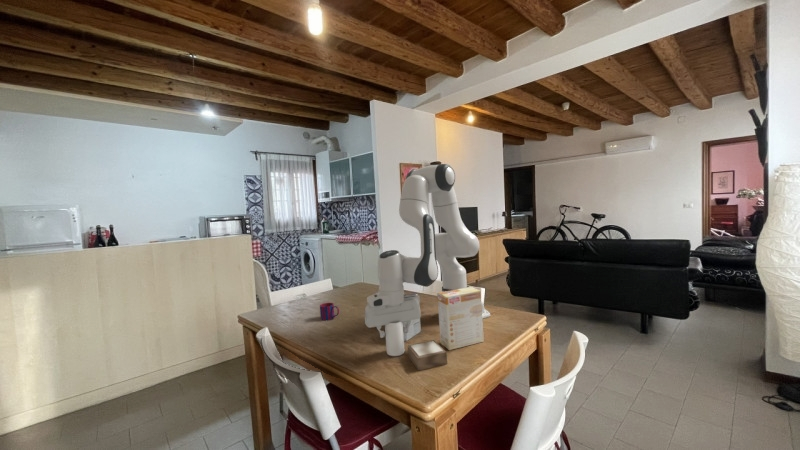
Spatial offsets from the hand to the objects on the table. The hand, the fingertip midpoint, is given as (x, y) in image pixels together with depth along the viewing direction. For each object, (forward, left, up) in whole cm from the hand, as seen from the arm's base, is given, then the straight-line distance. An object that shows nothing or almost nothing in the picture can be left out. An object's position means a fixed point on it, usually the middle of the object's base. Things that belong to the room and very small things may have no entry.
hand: (394, 334), depth 110 cm
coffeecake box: (-25, +3, -7) cm, 26 cm away
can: (0, 0, -7) cm, 7 cm away
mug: (+19, -49, -7) cm, 53 cm away
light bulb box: (-9, -13, -7) cm, 17 cm away
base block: (-8, +10, -7) cm, 14 cm away
